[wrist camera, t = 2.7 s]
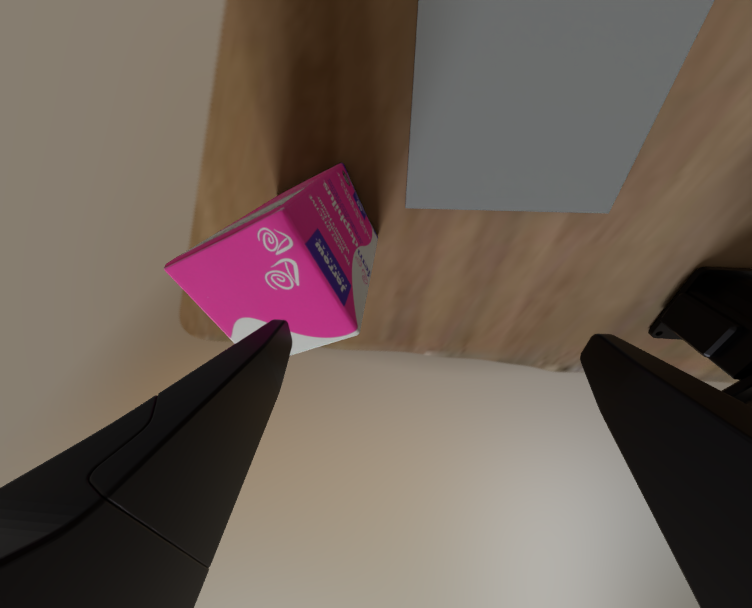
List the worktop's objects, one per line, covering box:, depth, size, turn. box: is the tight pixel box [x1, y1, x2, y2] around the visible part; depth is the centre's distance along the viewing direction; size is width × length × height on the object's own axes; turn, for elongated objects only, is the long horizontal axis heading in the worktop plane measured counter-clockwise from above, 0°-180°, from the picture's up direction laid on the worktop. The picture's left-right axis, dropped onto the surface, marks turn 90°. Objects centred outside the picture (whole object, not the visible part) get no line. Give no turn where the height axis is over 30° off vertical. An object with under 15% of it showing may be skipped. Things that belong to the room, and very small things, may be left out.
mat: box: [405, 0, 714, 213], centre depth 14 cm, size 13×13×1 cm
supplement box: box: [164, 163, 378, 356], centre depth 15 cm, size 6×6×12 cm
